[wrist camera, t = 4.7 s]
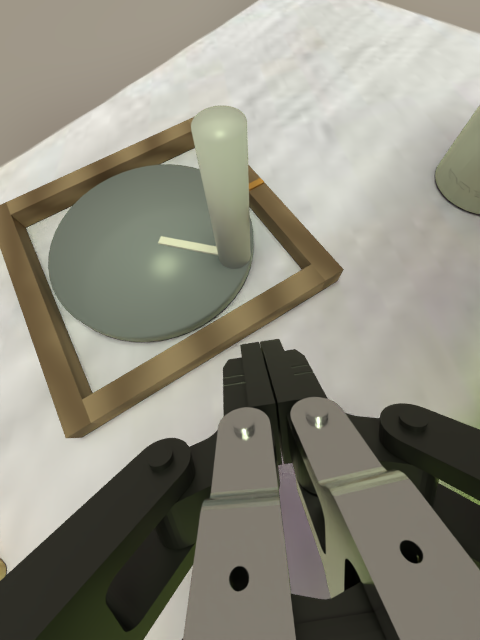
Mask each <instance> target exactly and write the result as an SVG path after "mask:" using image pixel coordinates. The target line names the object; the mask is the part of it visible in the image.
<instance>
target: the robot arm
mask: <svg viewBox="0 0 480 640" xmlns="http://www.w3.org/2000/svg"><path fill="white" fill-rule="evenodd" d="M435 178H436V183H437V186H438V188H439V189H440V191H441V192H442V194H443V195H444V196H445V197H446V198H447V199H448V200H449V201H451V202H452V203H453V204H455V205H456V206H458V207H460V208H462V209H464V210H466V211H469V212H472V213H476V214H480V105H479V107H478V108H477V110H476V111H475V113H474V114H473V115H472V117H471V118H470V120H469V121H468V123H467V124H466V126H465V127H464V128H463V130H462V131H461V133H460V134H459V136H458V137H457V138H456V140H455V141H454V143H453V144H452V146H451V147H450V149H449V150H448V152H447V153H446V154H445V156H444V157H443V159H442V160H441V162H440V163H439V165H438V167H437V168H436V173H435ZM240 346H241V354H242V358H236V359H229V360H228V361H227V363H226V364H225V366H224V367H223V386H224V387H223V402H224V417H223V418H222V420H221V421H220V423H219V426H218V430H217V431H216V433H214V434H213V435H212V436H211V437H209V438H208V439H206V440H204V441H202V442H199V443H197V444H195V445H193V446H190V447H189V446H188V445H187V444H186V442H184V441H183V440H180V439H177V438H166V439H162V440H159V441H157V442H155V443H153V444H151V445H149V446H148V447H147V448H145V449H144V450H143V451H142V452H141V453H140V454H139V455H138V456H136V457H135V458H134V459H133V460H132V461H131V462H130V463H129V464H128V465H127V466H126V467H124V468H123V469H122V470H121V471H120V472H119V473H118V474H117V475H116V476H115V477H113V478H112V479H111V480H110V481H109V482H108V483H107V484H106V485H105V486H104V487H103V488H101V489H100V490H99V491H98V492H97V493H96V494H95V495H94V496H93V497H92V498H90V499H89V500H88V501H87V502H86V503H85V504H84V505H83V506H82V507H81V508H80V509H78V510H77V511H76V512H75V513H74V514H73V515H72V516H71V517H70V518H69V519H67V520H66V521H65V522H64V523H63V524H62V525H61V526H60V527H59V528H58V529H56V530H55V531H54V532H53V533H52V534H51V535H50V536H49V537H48V538H47V539H46V540H44V541H43V542H42V543H41V544H40V545H39V546H38V547H37V548H36V549H35V550H33V551H32V552H31V553H30V554H29V555H28V556H27V557H26V558H25V559H24V560H23V561H21V562H20V563H19V564H18V565H17V566H16V567H15V568H14V569H13V570H12V571H10V572H9V573H8V574H7V575H6V576H5V577H4V578H3V579H2V580H1V581H0V640H144V638H145V636H146V635H147V633H148V632H149V630H150V629H151V627H152V626H153V624H154V623H155V621H156V620H157V618H158V617H159V615H160V614H161V612H162V611H163V609H164V608H165V606H166V605H167V603H168V602H169V600H170V598H171V597H172V595H173V594H174V592H175V591H176V589H177V588H178V586H179V585H180V583H181V582H182V580H183V579H184V577H185V576H186V574H187V573H188V571H189V570H190V568H191V567H192V565H193V571H192V578H191V585H190V593H189V600H188V607H187V615H186V622H185V629H184V637H183V639H182V640H480V505H478V504H476V503H474V502H472V501H470V500H468V499H467V498H465V497H463V496H461V495H459V494H457V493H456V492H454V491H452V490H450V489H448V488H446V487H445V486H443V485H441V484H439V483H438V481H439V479H440V480H442V481H444V482H445V483H447V484H449V485H451V486H453V487H455V488H457V489H459V490H460V491H462V492H464V493H466V494H468V495H470V496H472V497H474V498H475V499H477V500H479V501H480V430H479V429H477V428H474V427H471V426H469V425H466V424H464V423H461V422H459V421H456V420H453V419H451V418H448V417H446V416H443V415H441V414H438V413H436V412H433V411H430V410H428V409H425V408H423V407H420V406H416V405H412V404H393V405H390V406H388V407H386V408H385V409H384V410H383V411H382V412H381V415H380V418H370V417H359V416H353V415H349V414H347V413H345V412H344V411H343V409H342V408H341V407H340V406H339V405H338V404H337V403H335V402H333V401H331V400H329V399H328V398H327V397H326V395H325V393H324V391H323V389H322V387H321V386H320V384H319V382H318V380H317V378H316V376H315V374H314V373H313V371H312V369H311V367H310V366H309V363H308V361H307V360H306V358H305V356H304V355H303V354H301V353H300V352H298V351H297V350H295V349H294V350H287V351H284V349H283V347H282V344H281V342H280V340H279V339H275V340H268V341H261V342H260V344H259V342H255V343H249V344H242V345H240ZM260 347H261V348H260ZM280 448H281V450H280ZM281 452H282V456H283V461H284V464H288V463H293V467H294V471H295V474H296V486H297V490H298V493H299V496H300V499H301V502H302V505H303V508H304V511H305V514H306V516H307V519H308V522H309V525H310V528H311V531H312V534H313V537H314V539H315V542H316V545H317V548H318V551H319V554H320V557H321V560H322V563H323V567H324V570H325V575H326V580H327V584H328V589H329V593H330V596H331V599H326V600H324V599H317V598H311V597H306V596H300V595H295V594H291V589H290V580H289V572H288V564H287V556H286V547H285V539H284V531H283V522H282V514H281V506H280V497H279V487H280V478H279V470H278V465H282V459H281Z"/></svg>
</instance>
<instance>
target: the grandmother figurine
mask: <svg viewBox="0 0 480 640" xmlns="http://www.w3.org/2000/svg"><path fill="white" fill-rule="evenodd" d="M5 575H6V566H5V564H4V563H3V561H2V560H0V581H1V580H2V579H3V578H4V577H5Z"/></svg>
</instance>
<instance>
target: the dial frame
mask: <svg viewBox="0 0 480 640" xmlns="http://www.w3.org/2000/svg"><path fill="white" fill-rule="evenodd" d="M193 119H194V117H193V118H191V119H189V120H186V121H184V122H182V123H180V124H178V125H175V126H173V127H171V128H169V129H167V130H164V131H162V132H160V133H158V134H156V135H153V136H151V137H149V138H147V139H145V140H142V141H140V142H138V143H136V144H134V145H131V146H129V147H127V148H125V149H123V150H120V151H118V152H116V153H114V154H112V155H109V156H107V157H105V158H103V159H101V160H98V161H96V162H94V163H92V164H90V165H87V166H85V167H83V168H81V169H79V170H76V171H74V172H72V173H70V174H68V175H65V176H63V177H61V178H59V179H57V180H54V181H52V182H50V183H48V184H46V185H43V186H41V187H39V188H37V189H35V190H32V191H30V192H28V193H26V194H24V195H21V196H19V197H17V198H15V199H13V200H10V201H8V202H6V203H4V204H2V205H0V249H1V251H2V254H3V257H4V260H5V263H6V266H7V269H8V272H9V275H10V278H11V280H12V283H13V286H14V289H15V292H16V295H17V298H18V301H19V304H20V307H21V309H22V312H23V315H24V318H25V321H26V324H27V327H28V330H29V333H30V336H31V338H32V341H33V344H34V347H35V350H36V353H37V356H38V359H39V362H40V365H41V367H42V370H43V373H44V376H45V379H46V382H47V385H48V388H49V391H50V394H51V396H52V399H53V402H54V405H55V408H56V411H57V414H58V417H59V420H60V423H61V425H62V428H63V431H64V434H65V437H66V438H82V437H83V436H85V435H87V434H88V433H90V432H91V431H93V430H95V429H96V428H98V427H100V426H101V425H103V424H105V423H106V422H108V421H109V420H111V419H113V418H114V417H116V416H118V415H119V414H121V413H122V412H124V411H126V410H127V409H129V408H131V407H132V406H134V405H136V404H137V403H139V402H140V401H142V400H144V399H145V398H147V397H149V396H150V395H152V394H154V393H155V392H157V391H158V390H160V389H162V388H163V387H165V386H167V385H168V384H170V383H171V382H173V381H175V380H176V379H178V378H180V377H181V376H183V375H185V374H186V373H188V372H189V371H191V370H193V369H194V368H196V367H198V366H199V365H201V364H202V363H204V362H206V361H207V360H209V359H211V358H212V357H214V356H216V355H217V354H219V353H220V352H222V351H224V350H225V349H227V348H229V347H230V346H232V345H233V344H235V343H237V342H238V341H240V340H242V339H243V338H245V337H247V336H248V335H250V334H251V333H253V332H255V331H256V330H258V329H260V328H261V327H263V326H265V325H266V324H268V323H269V322H271V321H273V320H274V319H276V318H278V317H279V316H281V315H282V314H284V313H286V312H287V311H289V310H291V309H292V308H294V307H296V306H297V305H299V304H300V303H302V302H304V301H305V300H307V299H309V298H310V297H312V296H313V295H315V294H317V293H318V292H320V291H322V290H323V289H325V288H327V287H328V286H330V285H331V284H333V283H335V282H336V281H338V279H339V277H340V275H341V273H342V272H343V270H344V269H343V268H342V267H341V266H340V265H339V264H338V263H337V262H336V261H335V260H334V258H333V257H332V256H331V255H330V254H329V253H328V252H327V251H326V250H325V249H324V247H323V246H322V245H321V244H320V243H319V242H318V241H317V240H316V239H315V238H314V236H313V235H312V234H311V233H310V232H309V231H308V230H307V229H306V228H305V227H304V225H303V224H302V223H301V222H300V221H299V220H298V219H297V218H296V217H295V216H294V214H293V213H292V212H291V211H290V210H289V209H288V208H287V207H286V206H285V205H284V203H283V202H282V201H281V200H280V199H279V198H278V197H277V196H276V195H275V194H274V192H273V191H272V190H271V189H270V188H269V187H268V186H267V185H266V184H265V183H264V181H263V180H262V179H261V178H260V177H259V176H258V175H257V174H256V173H255V172H254V170H253V169H252V168H251V167H250V166H249V165H248V180H249V207H250V208H251V209H252V210H253V211H254V213H255V214H256V215H257V216H258V217H259V219H260V220H261V221H262V222H263V223H264V225H265V226H266V227H267V228H268V229H269V230H270V232H271V233H272V234H273V235H274V236H275V238H276V239H277V240H278V241H279V242H280V244H281V245H282V246H283V247H284V248H285V250H286V251H287V252H288V253H289V254H290V255H291V257H292V258H293V259H294V260H295V261H296V263H297V264H298V265H299V266H300V267H301V269H302V270H301V271H299V272H297V273H296V274H294V275H292V276H291V277H289V278H287V279H286V280H284V281H282V282H280V283H279V284H277V285H275V286H274V287H272V288H270V289H269V290H267V291H265V292H264V293H262V294H260V295H258V296H257V297H255V298H253V299H252V300H250V301H248V302H247V303H245V304H243V305H242V306H240V307H238V308H236V309H235V310H233V311H231V312H230V313H228V314H226V315H225V316H223V317H221V318H220V319H218V320H216V321H214V322H213V323H211V324H209V325H208V326H206V327H204V328H203V329H201V330H199V331H197V332H196V333H194V334H192V335H191V336H189V337H187V338H186V339H184V340H182V341H181V342H179V343H177V344H175V345H174V346H172V347H170V348H169V349H167V350H165V351H164V352H162V353H160V354H159V355H157V356H155V357H153V358H152V359H150V360H148V361H147V362H145V363H143V364H142V365H140V366H138V367H137V368H135V369H133V370H131V371H130V372H128V373H126V374H125V375H123V376H121V377H120V378H118V379H116V380H115V381H113V382H111V383H109V384H108V385H106V386H104V387H103V388H101V389H99V390H98V391H96V392H94V393H93V394H92V392H91V389H90V387H89V384H88V382H87V379H86V377H85V374H84V372H83V369H82V367H81V364H80V362H79V359H78V357H77V354H76V352H75V349H74V347H73V344H72V342H71V339H70V337H69V335H68V332H67V330H66V327H65V325H64V322H63V320H62V317H61V315H60V312H59V310H58V307H57V305H56V302H55V300H54V297H53V295H52V292H51V290H50V287H49V285H48V282H47V280H46V277H45V275H44V272H43V270H42V267H41V265H40V263H39V260H38V258H37V255H36V253H35V250H34V248H33V245H32V243H31V240H30V238H29V235H28V233H27V230H26V227H28V226H30V225H32V224H34V223H36V222H38V221H41V220H43V219H45V218H47V217H49V216H51V215H53V214H55V213H57V212H60V211H62V210H64V209H66V208H68V207H70V206H72V205H74V204H75V203H76V202H77V201H78V200H79V199H80V198H81V197H82V196H83V195H84V194H86V193H87V192H88V191H89V190H91V189H92V188H94V187H95V186H97V185H98V184H100V183H101V182H103V181H105V180H107V179H109V178H111V177H113V176H115V175H118V174H120V173H123V172H125V171H129V170H132V169H135V168H140V167H145V166H152V165H159V164H161V163H163V162H165V161H167V160H169V159H171V158H173V157H176V156H178V155H180V154H182V153H184V152H186V151H188V150H190V149H192V148H195V145H194V140H193V135H192V131H191V123H192V120H193Z"/></svg>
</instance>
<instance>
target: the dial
mask: <svg viewBox="0 0 480 640" xmlns="http://www.w3.org/2000/svg"><path fill="white" fill-rule="evenodd" d="M191 131H192V135H193V140H194V145H195V149H196V154H197V159H198V163H199V168H200V169H196V168H193V167H188V166H182V165H171V164H167V165H152V166H145V167H140V168H135V169H132V170H129V171H125V172H123V173H120V174H118V175H115V176H113V177H111V178H109V179H107V180H105V181H103V182H101V183H100V184H98V185H97V186H95V187H94V188H92V189H91V190H89V191H88V192H87V193H86V194H84V195H83V196H82V197H81V198H80V199H79V200H78V201H77V202H76V203H75V204H74V205H73V206H72V207H71V208H70V210H69V211H68V212H67V213H66V215H65V216H64V218H63V219H62V221H61V222H60V224H59V226H58V228H57V230H56V232H55V234H54V237H53V240H52V243H51V246H50V252H49V261H48V269H49V276H50V281H51V284H52V287H53V290H54V292H55V294H56V296H57V298H58V300H59V301H60V302H61V304H62V305H63V306H64V308H65V309H66V310H67V311H68V312H69V313H70V314H71V315H73V316H74V317H75V318H76V319H78V320H79V321H81V322H82V323H84V324H85V325H87V326H88V327H90V328H92V329H93V330H95V331H97V332H99V333H101V334H104V335H106V336H109V337H112V338H115V339H119V340H125V341H131V342H152V341H161V340H165V339H170V338H174V337H177V336H180V335H183V334H185V333H188V332H191V331H193V330H195V329H197V328H198V327H200V326H202V325H204V324H206V323H207V322H208V321H210V320H211V319H213V318H214V317H216V316H217V315H218V314H219V313H220V312H221V311H223V310H224V309H225V308H226V307H227V306H228V305H229V304H230V302H231V301H232V300H233V299H234V298H235V296H236V295H237V294H238V292H239V291H240V289H241V288H242V286H243V284H244V282H245V280H246V278H247V276H248V273H249V270H250V267H251V262H252V257H253V229H252V222H251V219H250V215H249V180H248V145H247V120H246V117H245V115H244V114H243V113H242V112H241V111H240V110H238V109H236V108H234V107H230V106H213V107H210V108H207V109H204V110H202V111H201V112H199V113H198V114H197V115H196V116H195V117H194V119H193V120H192V123H191Z"/></svg>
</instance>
